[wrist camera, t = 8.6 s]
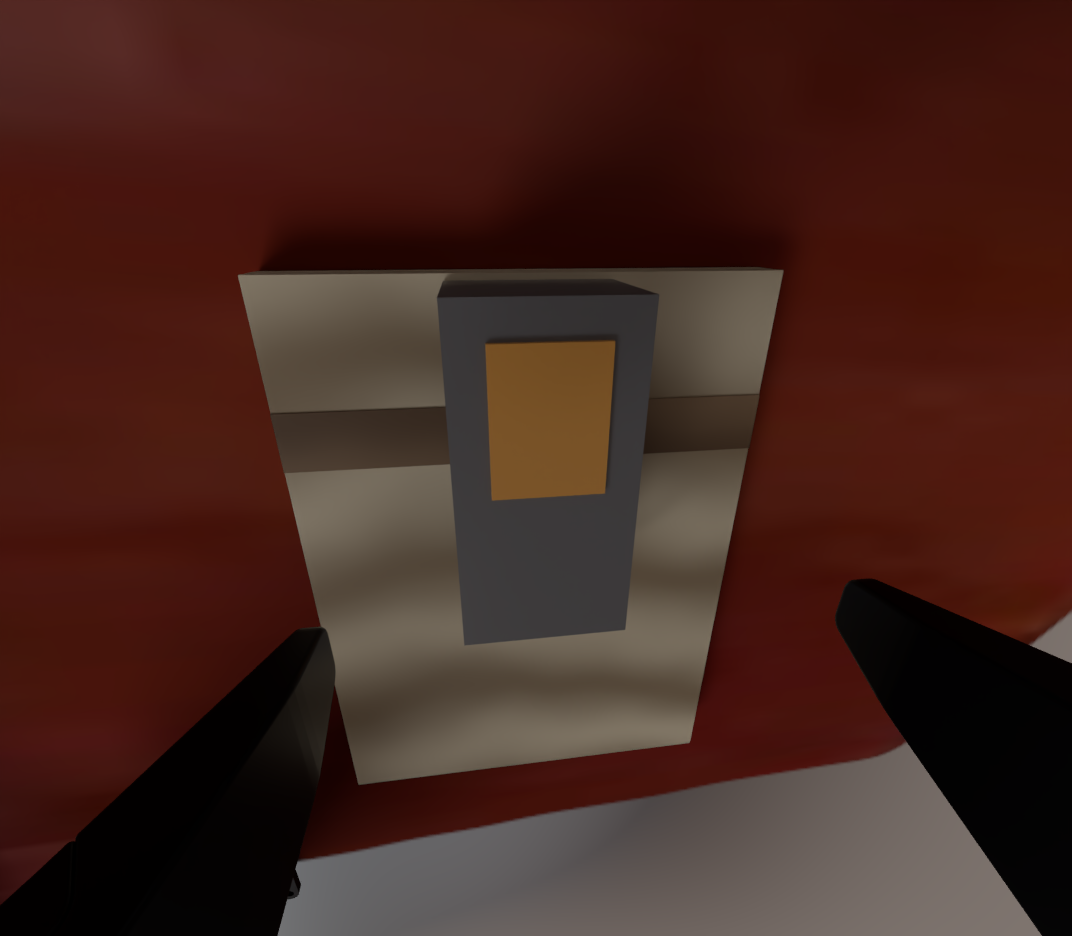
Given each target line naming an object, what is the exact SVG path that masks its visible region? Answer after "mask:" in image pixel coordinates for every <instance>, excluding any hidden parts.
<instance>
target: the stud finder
mask: <svg viewBox="0 0 1072 936" xmlns="http://www.w3.org/2000/svg"><path fill="white" fill-rule="evenodd" d="M658 303H659V294H657V293H653V292H650V291H647V290H644V289H641V288H638V287H635V286H632V285H629V284H626V283H623V282H620V281H617V280H614V279H546V280H450V281H443V282H442V285H441V287H440V290H439V293H438V296H437V306H438V318H439V331H440V343H441V356H442V369H443V381H444V394H445V407H446V419H447V432H448V445H449V457H450V470H451V483H452V495H453V508H454V521H455V533H456V546H457V559H458V571H459V584H460V597H461V609H462V622H463V635H464V646H465V645H475V644H486V643H496V642H506V641H516V640H527V639H537V638H547V637H558V636H568V635H578V634H588V633H599V632H609V631H619V630H625V628H626V618H627V608H628V598H629V588H630V578H631V569H632V559H633V549H634V539H635V529H636V519H637V510H638V500H639V490H640V480H641V470H642V460H643V451H644V441H645V431H646V421H647V411H648V401H649V392H650V382H651V372H652V362H653V352H654V342H655V332H656V323H657V313H658Z"/></svg>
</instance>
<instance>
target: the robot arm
mask: <svg viewBox="0 0 1072 936" xmlns="http://www.w3.org/2000/svg"><path fill="white" fill-rule="evenodd" d="M835 621H836V626H837V629H838V631H839V632H840V634H841V636H842V638H843V639H844V641H845V643H846V644H847V646H848V648H849V650H850V651H851V653H852V655H853V657H854V658H855V660H856V662H857V664H858V665H859V667H860V669H861V671H862V672H863V674H864V676H865V677H866V679H867V681H868V683H869V684H870V686H871V688H872V690H873V691H874V693H875V695H876V697H877V698H878V700H879V701H880V703H881V705H882V706H883V708H884V710H885V711H886V713H887V714H888V716H889V717H890V719H891V720H892V722H893V723H894V725H895V726H896V727H897V729H898V730H899V732H900V733H901V735H902V736H903V737H904V739H905V740H906V742H907V743H908V745H909V746H910V747H911V749H912V750H913V752H914V753H915V754H916V756H917V757H918V759H919V760H920V762H921V763H922V765H923V766H924V767H925V769H926V770H927V772H928V773H929V775H930V776H931V778H932V779H933V780H934V782H935V783H936V785H937V786H938V788H939V789H940V790H941V792H942V793H943V795H944V796H945V797H946V799H947V800H948V802H949V803H950V805H951V806H952V807H953V809H954V810H955V812H956V813H957V815H958V816H959V818H960V819H961V820H962V822H963V823H964V825H965V826H966V828H967V829H968V830H969V832H970V833H971V835H972V836H973V838H974V839H975V841H976V842H977V843H978V845H979V846H980V847H981V849H982V851H983V852H984V853H985V855H986V856H987V858H988V859H989V861H990V862H991V863H992V865H993V866H994V868H995V869H996V871H997V872H998V873H999V875H1000V876H1001V878H1002V879H1003V881H1004V882H1005V883H1006V885H1007V886H1008V888H1009V889H1010V891H1011V892H1012V894H1013V895H1014V896H1015V898H1016V899H1017V901H1018V902H1019V904H1020V905H1021V906H1022V908H1023V909H1024V911H1025V912H1026V913H1027V915H1028V916H1029V918H1030V919H1031V921H1032V922H1033V923H1034V925H1035V926H1036V928H1037V929H1038V931H1039V932H1040V934H1041V935H1042V936H1072V663H1069V662H1067V661H1065V660H1063V659H1060V658H1058V657H1056V656H1053V655H1051V654H1048V653H1046V652H1044V651H1041V650H1039V649H1037V648H1035V647H1032V646H1030V645H1028V644H1025V643H1023V642H1021V641H1018V640H1016V639H1014V638H1011V637H1009V636H1007V635H1004V634H1002V633H1000V632H997V631H995V630H992V629H990V628H988V627H985V626H983V625H981V624H978V623H976V622H974V621H971V620H969V619H967V618H964V617H962V616H960V615H957V614H955V613H953V612H950V611H948V610H946V609H943V608H941V607H939V606H936V605H934V604H932V603H929V602H927V601H925V600H922V599H920V598H918V597H915V596H913V595H911V594H908V593H906V592H904V591H901V590H899V589H897V588H894V587H892V586H890V585H887V584H885V583H883V582H880V581H878V580H875V579H857V580H851V581H849V582H848V583H847V584H846V585H845V587H844V590H843V593H842V596H841V599H840V602H839V605H838V608H837V611H836V615H835ZM335 675H336V669H335V662H334V657H333V653H332V649H331V644H330V640H329V636H328V632H327V631H326V629H325V628H323V627H312V628H301V629H298V630H296V631H295V632H294V633H292V634H291V635H290V636H289V637H288V638H287V639H286V640H285V641H284V642H283V643H282V644H281V645H280V646H279V647H277V648H276V649H275V650H274V651H273V652H272V653H271V654H270V655H269V656H268V657H267V658H266V659H265V660H264V661H262V662H261V663H260V664H259V665H258V666H257V667H256V668H255V669H254V670H253V671H252V672H251V673H250V674H249V675H247V676H246V677H245V678H244V679H243V680H242V681H241V682H240V683H239V684H238V685H237V686H236V687H235V688H234V689H233V690H231V691H230V692H229V693H228V694H227V695H226V696H225V697H224V698H223V699H222V700H221V701H220V702H219V703H218V704H216V705H215V706H214V707H213V708H212V709H211V710H210V711H209V712H208V713H207V714H206V715H205V716H204V717H203V718H201V719H200V720H199V721H198V722H197V723H196V724H195V725H194V726H193V727H192V728H191V729H190V730H189V731H188V732H186V733H185V734H184V735H183V736H182V737H181V738H180V739H179V740H178V741H177V742H176V743H175V744H174V745H173V746H172V747H170V748H169V749H168V750H167V751H166V752H165V753H164V754H163V755H162V756H161V757H160V758H159V759H158V760H157V761H155V762H154V763H153V764H152V765H151V766H150V767H149V768H148V769H147V770H146V771H145V772H144V773H143V774H142V775H140V776H139V777H138V778H137V779H136V780H135V781H134V782H133V783H132V784H131V785H130V786H129V787H128V788H127V789H125V790H124V791H123V792H122V793H121V794H120V795H119V796H118V797H117V798H116V799H115V800H114V801H113V802H112V803H110V804H109V805H108V806H107V807H106V808H105V809H104V810H103V811H102V812H101V813H100V814H99V815H98V816H97V817H96V818H94V819H93V820H92V821H91V822H90V823H89V824H88V825H87V826H86V827H85V828H84V829H83V830H82V831H81V832H79V833H78V835H77V836H76V841H71V842H69V843H67V844H66V845H65V846H64V847H63V848H62V849H61V850H60V851H59V852H58V853H57V854H56V855H55V856H53V857H52V858H51V859H50V860H49V861H48V862H47V863H46V864H45V865H44V866H43V867H42V868H41V869H40V870H38V871H37V872H36V873H35V874H34V875H33V876H32V877H31V878H30V879H29V880H28V881H26V882H25V883H24V884H23V885H22V886H21V887H20V888H19V889H18V890H17V891H15V892H14V893H13V894H12V895H11V896H10V897H9V898H8V899H7V900H6V901H4V902H3V903H2V904H1V905H0V936H277V935H278V931H279V928H280V924H281V920H282V917H283V913H284V909H285V905H286V901H287V899H292V898H295V897H297V896H298V895H299V891H300V886H301V883H300V881H299V878H298V875H297V872H296V870H295V868H296V865H297V861H298V857H299V853H300V850H301V846H302V842H303V839H304V835H305V831H306V827H307V824H308V820H309V816H310V813H311V809H312V805H313V801H314V798H315V794H316V790H317V786H318V781H319V777H320V772H321V766H322V760H323V754H324V748H325V741H326V735H327V729H328V722H329V716H330V709H331V703H332V697H333V690H334V684H335Z"/></svg>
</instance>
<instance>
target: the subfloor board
mask: <svg viewBox="0 0 1072 936" xmlns="http://www.w3.org/2000/svg"><path fill="white" fill-rule="evenodd" d="M782 275H783V270H777V269H769V268H761V267H704V268H578V269H452V270H326V271H256V272H251V273H246V274H241V275H238V278H239V282H240V286H241V290H242V295H243V299H244V303H245V307H246V311H247V316H248V320H249V324H250V328H251V333H252V337H253V341H254V345H255V349H256V354H257V358H258V362H259V366H260V371H261V375H262V379H263V383H264V388H265V392H266V396H267V400H268V404H269V409H270V413H271V414H270V416H271V420H272V424H273V428H274V433H275V437H276V441H277V445H278V449H279V454H280V458H281V462H282V466H283V471H284V473H285V476H286V481H287V485H288V489H289V493H290V497H291V502H292V506H293V510H294V514H295V519H296V523H297V527H298V531H299V535H300V540H301V544H302V548H303V552H304V557H305V561H306V565H307V569H308V574H309V578H310V582H311V586H312V590H313V595H314V599H315V603H316V607H317V612H318V616H319V620H320V624H321V627H323V628H325V629H326V631H327V632H328V636H329V640H330V644H331V649H332V653H333V657H334V662H335V669H336V675H335V688H336V692H337V696H338V700H339V705H340V709H341V713H342V717H343V721H344V726H345V730H346V734H347V738H348V743H349V747H350V751H351V755H352V760H353V764H354V768H355V772H356V776H357V781H358V785H361V784H369V783H377V782H385V781H392V780H400V779H408V778H416V777H424V776H432V775H440V774H447V773H455V772H463V771H471V770H479V769H487V768H495V767H503V766H510V765H518V764H526V763H534V762H542V761H550V760H558V759H566V758H573V757H581V756H589V755H597V754H605V753H613V752H621V751H629V750H636V749H644V748H652V747H660V746H668V745H676V744H684V743H690V739H691V734H692V729H693V724H694V719H695V714H696V709H697V704H698V699H699V694H700V689H701V684H702V679H703V674H704V669H705V664H706V659H707V654H708V648H709V643H710V638H711V633H712V628H713V623H714V618H715V613H716V608H717V603H718V598H719V593H720V588H721V583H722V578H723V573H724V568H725V563H726V558H727V553H728V548H729V543H730V538H731V533H732V528H733V522H734V517H735V512H736V507H737V502H738V497H739V492H740V487H741V482H742V477H743V472H744V467H745V462H746V457H747V452H748V448H749V446H750V441H751V436H752V431H753V426H754V421H755V416H756V411H757V406H758V401H759V396H760V395H759V391H760V386H761V381H762V376H763V371H764V366H765V361H766V356H767V351H768V346H769V341H770V336H771V331H772V326H773V321H774V316H775V311H776V306H777V301H778V296H779V291H780V286H781V280H782ZM546 279H614V280H617V281H620V282H623V283H626V284H629V285H632V286H635V287H638V288H641V289H644V290H647V291H650V292H653V293H657V294H659V303H658V313H657V323H656V332H655V342H654V352H653V362H652V372H651V382H650V392H649V401H648V411H647V421H646V431H645V441H644V451H643V460H642V470H641V480H640V490H639V500H638V510H637V519H636V529H635V539H634V549H633V559H632V569H631V578H630V588H629V598H628V608H627V618H626V628H625V630H619V631H609V632H599V633H588V634H578V635H568V636H558V637H547V638H537V639H527V640H516V641H506V642H496V643H486V644H475V645H465V646H464V635H463V622H462V609H461V597H460V584H459V571H458V559H457V546H456V533H455V521H454V508H453V495H452V483H451V470H450V457H449V445H448V432H447V419H446V407H445V394H444V381H443V369H442V356H441V343H440V331H439V318H438V306H437V296H438V293H439V290H440V287H441V285H442V282H443V281H450V280H546Z"/></svg>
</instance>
